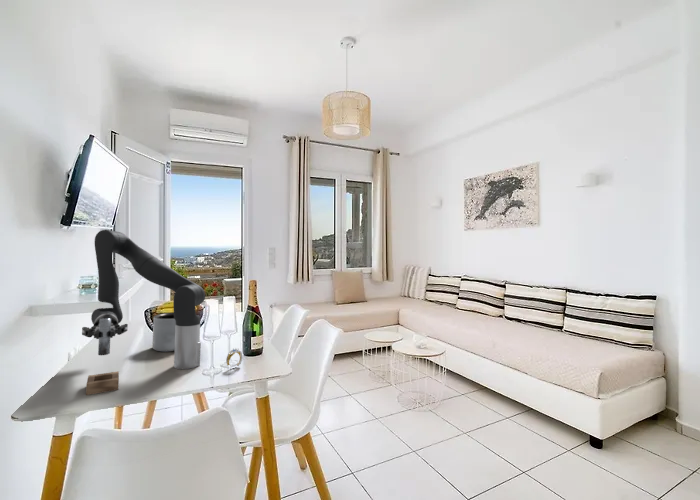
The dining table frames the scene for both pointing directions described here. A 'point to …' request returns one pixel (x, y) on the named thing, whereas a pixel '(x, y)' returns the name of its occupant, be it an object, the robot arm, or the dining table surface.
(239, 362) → the ring
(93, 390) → the wooden square socket block
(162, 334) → the planter
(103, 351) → the rod
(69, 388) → the dining table surface
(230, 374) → the dining table surface
